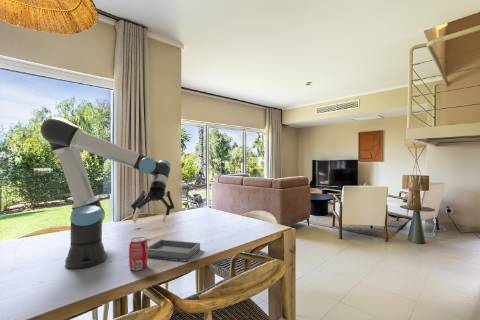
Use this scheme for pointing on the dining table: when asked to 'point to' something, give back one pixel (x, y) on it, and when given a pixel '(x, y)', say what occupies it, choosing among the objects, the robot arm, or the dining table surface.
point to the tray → (173, 249)
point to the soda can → (138, 253)
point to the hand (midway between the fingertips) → (149, 221)
